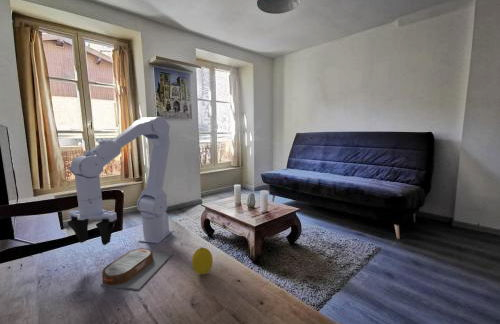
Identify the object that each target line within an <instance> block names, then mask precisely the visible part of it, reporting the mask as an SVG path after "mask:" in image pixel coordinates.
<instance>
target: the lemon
mask: <svg viewBox="0 0 500 324" xmlns="http://www.w3.org/2000/svg"><path fill="white" fill-rule="evenodd" d="M191 265H192V269H193V270H194V272H195V273H196V274H199V275H202V276H204V275H205V274H207V273H209V272H210V271H211V269H212V267H213V255H212V253H211V251H210V250H209V248H206V247H203V246H202V247H200V248H198V249H197V250H195V251H194V253H193V255H192V260H191Z"/></svg>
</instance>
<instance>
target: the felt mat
mask: <svg viewBox="0 0 500 324" xmlns="http://www.w3.org/2000/svg"><path fill="white" fill-rule="evenodd" d="M152 254H153V262H152V263H151V264H150V265H149V266H147V267H146V268H145V269H144V270H142V271H141V272H140V273H139V274H137V275H136V276H135V277H133V278H132V279H131V280H129V281H127V282H125V283H123V284H120V285H113V286H109V285H105V284H104V283H103V282H101V283H100V286H103V287H108V288H109V287H111V288H118V289H124V290H125V289H126V290H131V291H132V290H133V291H140V290H141V289H142V288H143V287H144V286H145V284H147V283H148V282H149V281H150V279H151V278H152V277H153V276H154V275H155V274H156V273H158V271H159V270H160V269H161V268H162V266H164V265H165V263H167V261H168V260H169V259H170V258H171V257H172V256H173V253H168V252H167V253H166V252H158V251H152Z"/></svg>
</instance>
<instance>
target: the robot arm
mask: <svg viewBox="0 0 500 324" xmlns="http://www.w3.org/2000/svg"><path fill="white" fill-rule="evenodd" d="M170 126H171V125H170V124H169V123H168V121H167V119H166V118H165V117H163V116H153V117H152V116H151V117H149V116H148V117H146V116H142V117H140V118H138V119H137V120H135V121H133V123H132V124H130V126H128V127H126V129H125V130H123V131H122V132H121V133H119V134H118V135H117V136H116V137H114V138H113V139H110V138H109V139H108V138H106V139H101V140H98V144H97V145H96V146H95V147H93V148H91V149H89V150H86V151H84V155H78V156H76V157H74V158H73V159H72V161H71V162H70V166H68V170H69V171H70V173H71V174H72V175H74V179H75V181H74V182H75V188H76V197H77V203H78V209H72V210H70V211H67V213H66V214H67V219H70V220H69V221H67V226H69V227H70V228H71V230H73V232H74V234H75V235H76V238H77V239H78V242H79V244H83V243H85V242H87V241H88V239H89V226H88V225H89V220H99V222H97V223H95V226H96V228H97V229H98V232H99V234H100V240H101V244H102V246H106V245H108V244H109V243H110V242H111V238H112V233H113V229H114V227H115V224H116V223H117V221H118V218H117V215H118V214H117V212H114V211H113V212H112V211H109V210H106V209H104V207H103V206H104V205H103V197H102V196H103V195H102V189H101V186H102V185H101V179H100V175H101V174H102V172H103V170H104V167H105V166H106V165H108V164H109V163H111V162H112V161H113V160H114V159H116V158H117V157H118V156H120V155H121V153H122V152H121V151H122V148H124V147H125V146H126V145H128V144H130V143H131V142H133V141H134V140H135V139H137V138H138V137H140V136H144V137H145V138H146V139H148V140H149V141H150V143H151V144H152V152H151V157H150V158H151V159H150V163H149V169H148V176H147V180H146V187H145V188H144V189H142V191H141V192H140V196H139V197H138V200H137V202H136V208H137V210H138V211H139V212H140V215H141V219H142V220H141V221H142V232H143V233H142V234H143V236H142V237H140V238H139V239H138V242H139V243H140V242H142V243H153V244H159V243H160V242H162V240H163V239H165V238H166V237H168V235H169V234H171V233H172V230H170V224H169V223H170V222H169V215H168V212H167V210H168V202H167V198H168V197H167V196H168V195H167V193H166V192H165V191H164V190H163V187H164V182H165V181H164V180H165V176H166V175H165V174H166V168H167V164H168V155H169V150H170V149H169V148H170V144H171V141H170V135H169V134H170V128H171V127H170Z"/></svg>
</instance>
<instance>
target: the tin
mask: <svg viewBox="0 0 500 324" xmlns="http://www.w3.org/2000/svg"><path fill="white" fill-rule="evenodd" d="M152 252H153V251H152V249H149V248H141V247H140V248H135V249H132V250H130V251H128V252H126V253H124V254H123V255H121V256H120V257H118V258H116V260H113V261H112V262H110V263H109V264H107V265H106V266H105V267H104V268H103V270H102V271H101V275H102V279H101V281H102V282H101V283H104V284H105V285H109V286H113V285H120V284H123V283H125V282H127V281H129V280H131V279H132V278H133V277H135V276H136V275H137V274H139V273H140V272H141V271H142V270H144V269H145V268H146V267H147V266H149V265H150V264H151V263H152V262H153V254H152Z"/></svg>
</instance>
